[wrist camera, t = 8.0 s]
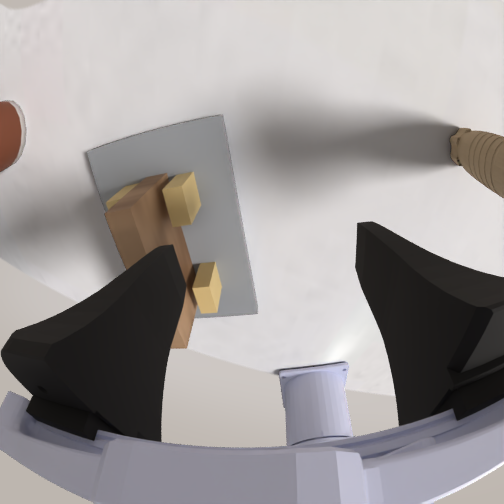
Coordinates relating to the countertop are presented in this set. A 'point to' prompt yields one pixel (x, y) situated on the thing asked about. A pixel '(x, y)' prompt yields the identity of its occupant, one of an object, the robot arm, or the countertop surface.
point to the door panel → (153, 239)
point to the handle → (480, 157)
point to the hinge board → (190, 204)
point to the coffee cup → (11, 133)
